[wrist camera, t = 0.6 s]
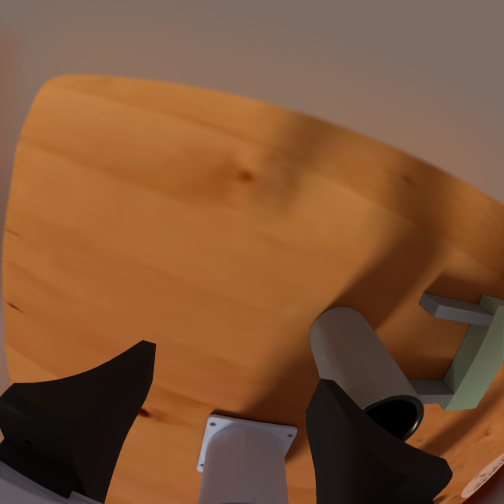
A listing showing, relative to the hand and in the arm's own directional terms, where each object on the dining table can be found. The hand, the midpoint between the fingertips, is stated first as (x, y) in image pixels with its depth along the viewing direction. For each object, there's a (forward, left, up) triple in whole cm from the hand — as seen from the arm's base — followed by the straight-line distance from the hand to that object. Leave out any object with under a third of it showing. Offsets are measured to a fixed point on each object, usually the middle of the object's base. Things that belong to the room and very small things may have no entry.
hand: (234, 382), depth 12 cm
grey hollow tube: (-1, -7, -10) cm, 12 cm away
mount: (-1, -20, -9) cm, 22 cm away
